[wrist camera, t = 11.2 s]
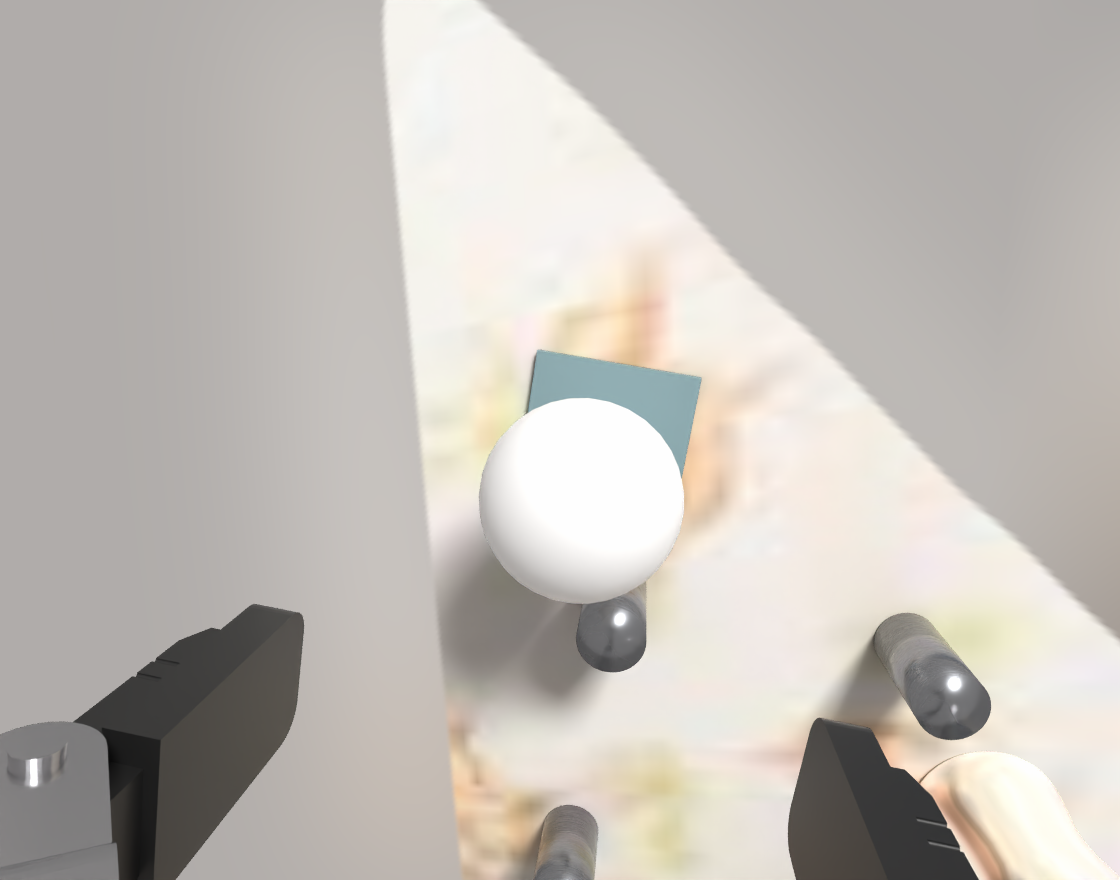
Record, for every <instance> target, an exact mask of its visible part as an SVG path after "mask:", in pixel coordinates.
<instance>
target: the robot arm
mask: <svg viewBox="0 0 1120 880" xmlns="http://www.w3.org/2000/svg"><path fill="white" fill-rule="evenodd" d="M303 634H304V620H303V617H302V615H301V614H300V613H298V612H292V611H287V610H283V609H278V608H273V607H268V606H262V605H257V604H253V605H251V606H249V607H248V608H247V609H245V610H244V611H243V612H242V613H241V614H239V615H238V616H237V617H236V618H234V619H233V620H232V621H231V622H230V623H228V624H227V625H226V626H225V627H223V628H222V629H221V630H220V629H214V628H210V629H207V630H205V631H202V632H199V633H197V634H194V635H192V636H190V637H187V638H184V639H182V640H179V641H178V642H176V643H175V644H174V645H172V646H171V647H170V648H169V649H167V650H166V651H165V652H163V653H162V654H161V655H160V656H158V657H157V658H156V661H155V662H150V663H149V664H148V665H147V666H145V667H144V668H143V669H141V670H140V671H139V672H137V676H136V677H131V678H130V679H129V680H127V681H126V682H125V683H123V684H122V685H121V686H119V687H118V688H117V689H115V690H114V691H113V692H112V693H110V694H109V695H108V696H106V697H105V698H104V699H103V700H101V701H100V702H99V703H97V704H96V705H95V706H93V707H92V708H91V709H90V710H88V711H87V712H86V713H84V714H83V715H82V716H80V717H79V718H78V719H77V720H75V721H74V722H45V723H38V724H32V725H27V726H24V727H20V728H16V729H14V730H11V731H8V732H5V733H3V734H0V880H176V878H177V877H178V876H179V874H180V873H181V872H182V871H183V869H184V868H185V867H186V865H187V864H188V863H189V862H190V861H191V859H192V858H193V857H194V855H195V854H196V853H197V852H198V850H199V849H200V848H201V847H202V845H203V844H204V843H205V841H206V840H207V839H208V837H209V836H210V835H211V834H212V833H213V831H214V830H215V829H216V827H217V826H218V825H219V824H220V822H221V821H222V820H223V818H224V817H225V816H226V814H227V813H228V812H229V811H230V810H231V808H232V807H233V806H234V804H235V803H236V802H237V801H238V799H239V798H240V797H241V796H242V794H243V793H244V792H245V790H246V789H247V788H248V787H249V785H250V784H251V783H252V782H253V780H254V779H255V778H256V776H257V775H258V774H259V773H260V771H261V770H262V769H263V767H264V766H265V765H266V764H267V762H268V761H269V760H270V759H271V757H272V756H273V755H274V753H275V752H276V751H277V750H278V748H279V747H280V746H281V744H282V743H283V741H284V740H285V738H286V736H287V734H288V732H289V730H290V727H291V724H292V722H293V718H294V715H295V711H296V705H297V698H298V687H299V676H300V665H301V654H302V644H303ZM788 846H789V853H790V857H791V861H792V865H793V869H794V873H795V877H796V880H979V879H978V877H977V875H976V874H975V872H974V870H973V868H972V866H971V865H970V863H969V861H968V859H967V858H966V856H965V854H964V852H960V845H959V843H958V841H957V840H956V838H955V836H954V834H953V832H952V831H951V829H949V828H947V822H946V820H945V818H944V816H943V814H942V813H941V811H940V809H939V807H938V805H937V804H936V802H935V800H934V798H933V797H932V795H931V794H930V793H929V792H927V791H926V790H925V789H924V788H923V787H922V786H921V785H920V784H919V783H918V782H917V781H916V780H915V779H914V778H913V777H912V776H911V775H910V774H909V773H908V772H906V771H905V770H903V769H898V768H893V767H890V765H889V763H888V761H887V759H886V757H885V755H884V753H883V751H882V749H881V747H880V745H879V743H878V741H877V739H876V737H875V735H874V733H873V732H872V730H871V729H870V728H868V727H863V726H858V725H853V724H848V723H843V722H838V721H833V720H828V719H823V718H817V719H816V720H815V721H814V723H813V725H812V727H811V730H810V733H809V737H808V741H807V745H806V749H805V753H804V757H803V761H802V765H801V769H800V772H799V776H798V780H797V784H796V788H795V792H794V796H793V800H792V804H791V808H790V814H789V822H788Z"/></svg>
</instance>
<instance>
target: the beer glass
mask: <svg viewBox="0 0 1120 880" xmlns="http://www.w3.org/2000/svg"><path fill="white" fill-rule="evenodd" d="M920 785H921V786H922V787H923V788H924V789H925V790H926V791H927V792H929V793H930V794H931V795H932V797H933V798H934V800H935V802H936V804H937V805H938V807H939V809H940V811H941V813H942V814H943V816H944V818H945V820H946V822H947V828H949V829H951V831H952V832H953V834H954V836H955V838H956V840H957V841H958V843H959V845H960V852H964V854H965V856H966V858H967V859H968V861H969V863H970V865H971V866H972V868H973V870H974V872H975V874H976V875H977V877H978V879H979V880H1120V876H1119V875H1118V874H1117V873H1116V872H1115V871H1114V870H1113V869H1111V868H1110V867H1109V866H1108V865H1107V864H1106V863H1105V862H1104V861H1103V860H1102V859H1101V858H1100V857H1099V856H1097V854H1096V853H1095V852H1094V851H1093V850H1092V849H1091V848H1090V847H1089V845H1088V844H1087V843H1086V842H1085V840H1084V839H1083V838H1082V836H1081V835H1080V833H1079V832H1078V830H1077V828H1076V827H1075V825H1074V823H1073V821H1072V819H1071V817H1070V815H1069V813H1068V811H1067V808H1066V806H1065V804H1064V802H1063V800H1062V798H1061V796H1060V794H1059V793H1058V791H1057V789H1056V788H1055V786H1054V785H1053V783H1052V782H1051V781H1050V779H1049V778H1048V777H1047V776H1046V775H1045V774H1044V773H1043V772H1042V771H1041V770H1039V769H1038V768H1037V767H1035V766H1034V765H1033V764H1031V763H1029V762H1028V761H1026V760H1024V759H1022V758H1019V757H1017V756H1014V755H1011V754H1007V753H1002V752H995V751H978V752H971V753H966V754H962V755H959V756H956V757H953V758H951V759H949V760H947V761H945V762H943V763H941V764H940V765H938V766H937V767H935V768H934V769H933V770H932V771H931V772H929V773H928V774H927V775H926V776H925V778H924V779H923V780H922V781H921V783H920Z"/></svg>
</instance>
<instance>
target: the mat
mask: <svg viewBox="0 0 1120 880" xmlns="http://www.w3.org/2000/svg"><path fill="white" fill-rule="evenodd" d="M700 384H701V377H696V376H690V375H684V374H678V373H673V372H667V371H661V370H655V369H649V368H643V367H637V366H632V365H626V364H620V363H614V362H608V361H602V360H596V359H591V358H585V357H579V356H573V355H567V354H561V353H555V352H550V351H544V350H537V356H536V362H535V369H534V376H533V382H532V389H531V395H530V402H529V408H528V413H529V412H530V411H532V410H534V409H536V408H538V407H541V406H543V405H545V404H548V403H550V402H555V401H559V400H564V399H569V398H591V399H597V400H602V401H608V402H611V403H614V404H616V405H619V406H621V407H624V408H626V409H629V410H630V411H632V412H633V413H635V414H636V415H638V416H640V417H641V418H643V419H644V420H646V421H647V422H648V423H649V424H650V425H651V426H652V427H653V428H654V429H655V430H656V431H657V432H658V433H659V434H660V435H661V436H662V438H663V439H664V441H665V442H666V444H667V445H668V447H669V448H670V450H671V451H672V453H673V456H674V458H675V460H676V463H677V465H678V467H679V471H680V476H681V479H682V474H683V469H684V464H685V459H686V454H687V449H688V444H689V439H690V434H691V429H692V424H693V419H694V414H695V409H696V404H697V399H698V394H699V389H700Z"/></svg>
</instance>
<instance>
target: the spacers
mask: <svg viewBox="0 0 1120 880" xmlns="http://www.w3.org/2000/svg"><path fill="white" fill-rule="evenodd" d="M576 642H577V647H578V650H579V652H580V654H581V656H582V657H583V658H584V660H585V661H586V662H587V663H588V664H590V665H591V666H592V667H594V668H596V669H599V670H601V671H605V672H620V671H624V670H627V669H629V668H631V667H632V666H634V665H635V664H636V663H637V662H638V661H639V660H640V659H641V657H642V656H643V654H644V651H645V648H646V581H645V582H644V583H643V584H641V585H639V586H638V587H636V588H634V589H633V590H631V591H630V592H628V593H626V594H623V595H621V596H618V597H615V598H613V599H610V600H607V601H602V602H596V603H590V604H582V609H581V614H580V619H579V624H578V629H577V636H576ZM874 648H875V651H876V653H877V655H878V657H879V658H880V660H881V662H882V663H883V665H884V667H885V668H886V670H887V671H888V673H889V675H890V676H891V678H892V680H893V681H894V683H895V684H896V686H897V688H898V689H899V691H900V693H901V694H902V696H903V697H904V699H905V701H906V702H907V704H908V706H909V707H910V709H911V711H912V712H913V714H914V715H915V717H916V719H917V720H918V722H919V724H920V725H921V726H922V728H923V729H924V730H925V731H927V732H928V733H929V734H931V735H933V736H935V737H937V738H941V739H946V740H958V739H963V738H966V737H969V736H971V735H973V734H975V733H976V732H977V731H979V730H980V729H981V728H982V727H983V726H984V724H985V723H986V722H987V720H988V718H989V715H990V711H991V701H990V697H989V695H988V693H987V691H986V689H985V688H984V687H983V686H982V684H981V683H980V682H979V681H978V679H977V678H976V677H975V676H974V675H973V673H972V672H971V671H970V670H969V669H968V667H967V666H966V665H965V664H964V663H963V661H962V660H961V659H960V658H959V656H958V655H957V654H956V653H955V652H954V650H953V649H952V648H951V647H950V646H949V644H948V643H947V642H946V641H945V640H944V638H943V637H942V636H941V635H940V633H939V632H938V631H937V630H936V629H935V627H934V626H933V625H932V624H931V623H930V622H929V621H928V620H927V619H925V618H924V617H922V616H920V615H917V614H912V613H901V614H897V615H894V616H892V617H890V618H888V619H886V620H885V621H884V622H883V623H882V624H881V625H880V626H879V628H878V629H877V631H876V633H875V637H874ZM597 841H598V826H597V823H596V821H595V819H594V817H593V816H592V815H591V814H590V813H589V812H588V811H586V810H585V809H583V808H580V807H578V806H573V805H564V806H560V807H557V808H555V809H554V810H552V811H551V812H550V813H549V814H548V815H547V817H546V819H545V821H544V825H543V831H542V836H541V841H540V847H539V852H538V857H537V863H536V868H535V874H534V879H533V880H594V876H595V864H596V853H597Z"/></svg>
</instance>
